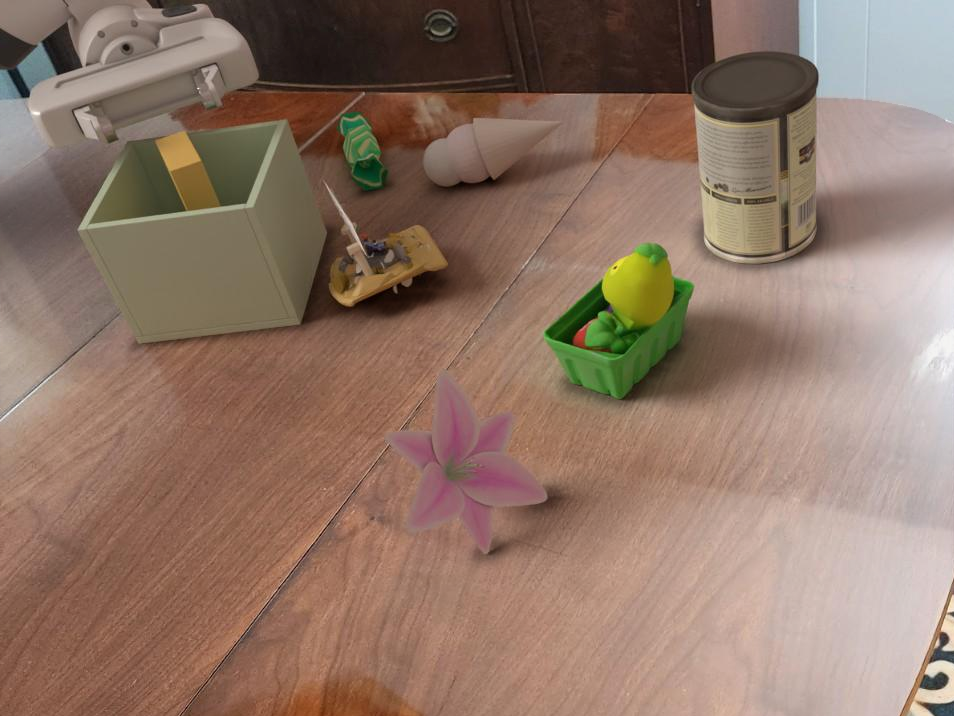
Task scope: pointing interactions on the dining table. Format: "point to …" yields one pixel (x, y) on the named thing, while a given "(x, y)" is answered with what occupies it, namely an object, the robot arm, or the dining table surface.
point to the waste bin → (209, 236)
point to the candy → (362, 151)
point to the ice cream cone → (482, 149)
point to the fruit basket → (622, 323)
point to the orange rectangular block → (187, 172)
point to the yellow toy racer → (380, 261)
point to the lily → (463, 466)
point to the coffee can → (757, 155)
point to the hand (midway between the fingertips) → (159, 117)
